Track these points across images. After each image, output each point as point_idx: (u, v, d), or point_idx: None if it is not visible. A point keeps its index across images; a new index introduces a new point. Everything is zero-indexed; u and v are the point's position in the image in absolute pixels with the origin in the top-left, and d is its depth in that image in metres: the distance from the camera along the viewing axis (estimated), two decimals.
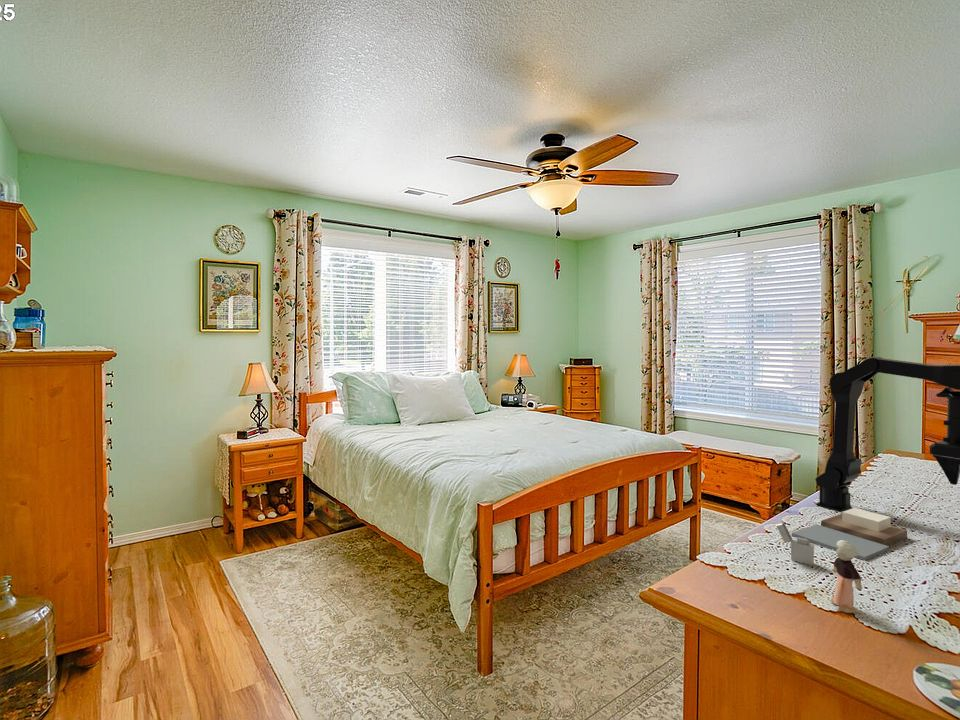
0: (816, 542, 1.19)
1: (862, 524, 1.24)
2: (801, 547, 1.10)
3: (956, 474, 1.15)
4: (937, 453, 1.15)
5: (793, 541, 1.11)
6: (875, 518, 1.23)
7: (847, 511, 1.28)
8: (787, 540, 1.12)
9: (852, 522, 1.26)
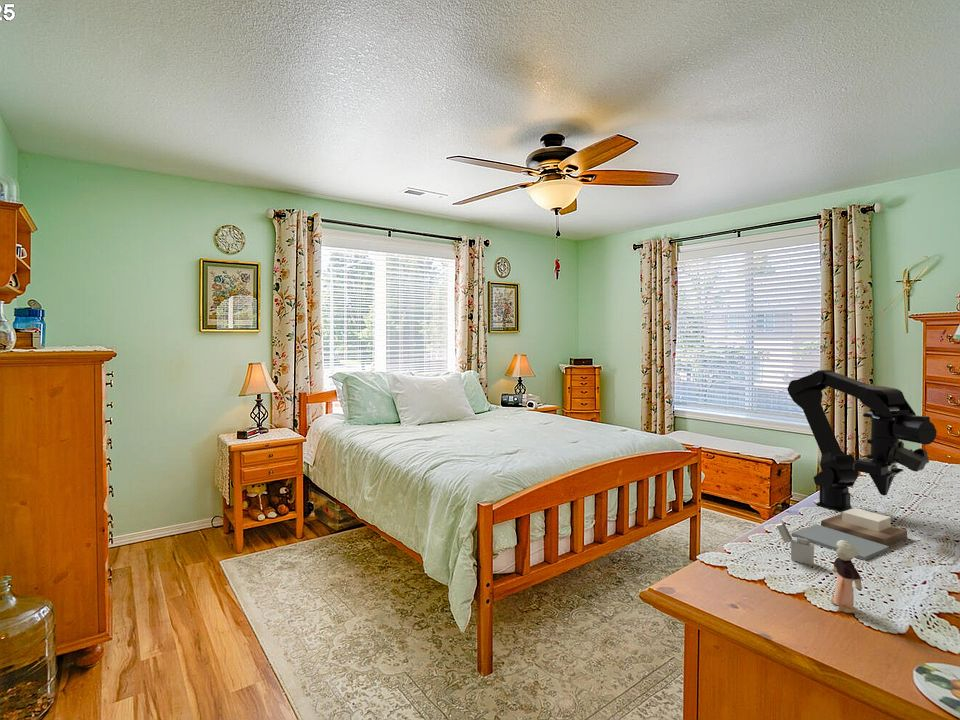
0: (816, 542, 1.19)
1: (862, 524, 1.24)
2: (801, 547, 1.10)
3: (885, 486, 1.28)
4: (859, 470, 1.26)
5: (793, 541, 1.11)
6: (875, 518, 1.23)
7: (847, 511, 1.28)
8: (787, 540, 1.12)
9: (852, 522, 1.26)
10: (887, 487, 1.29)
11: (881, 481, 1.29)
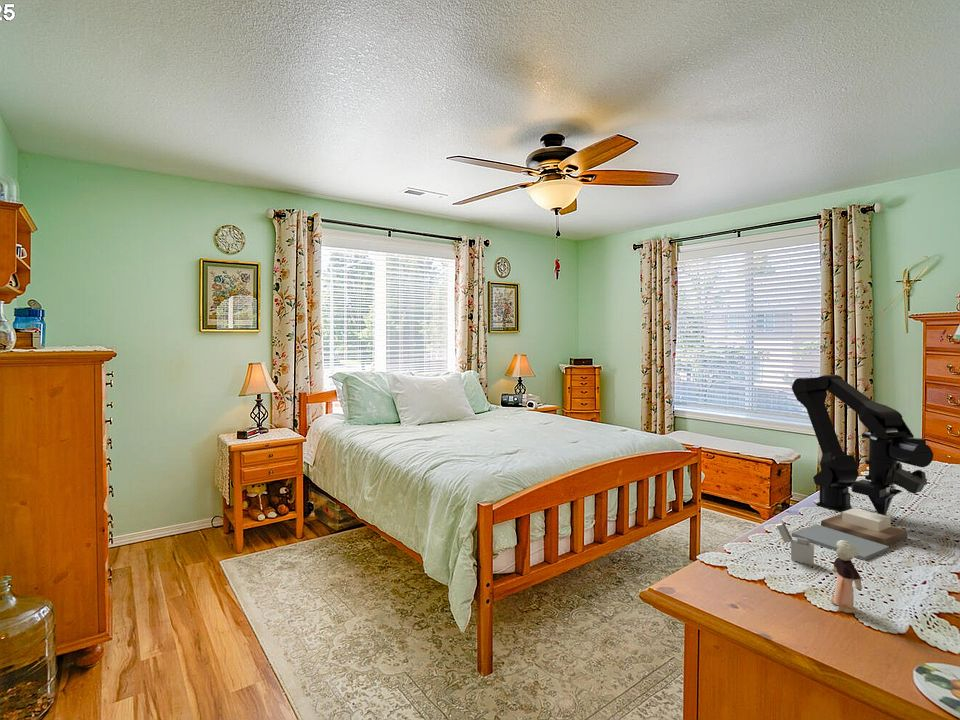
0: (816, 542, 1.19)
1: (862, 524, 1.24)
2: (801, 547, 1.10)
3: (883, 507, 1.28)
4: (857, 491, 1.26)
5: (793, 541, 1.11)
6: (875, 518, 1.23)
7: (847, 511, 1.28)
8: (787, 540, 1.12)
9: (852, 522, 1.26)
10: (885, 508, 1.28)
11: (879, 502, 1.29)
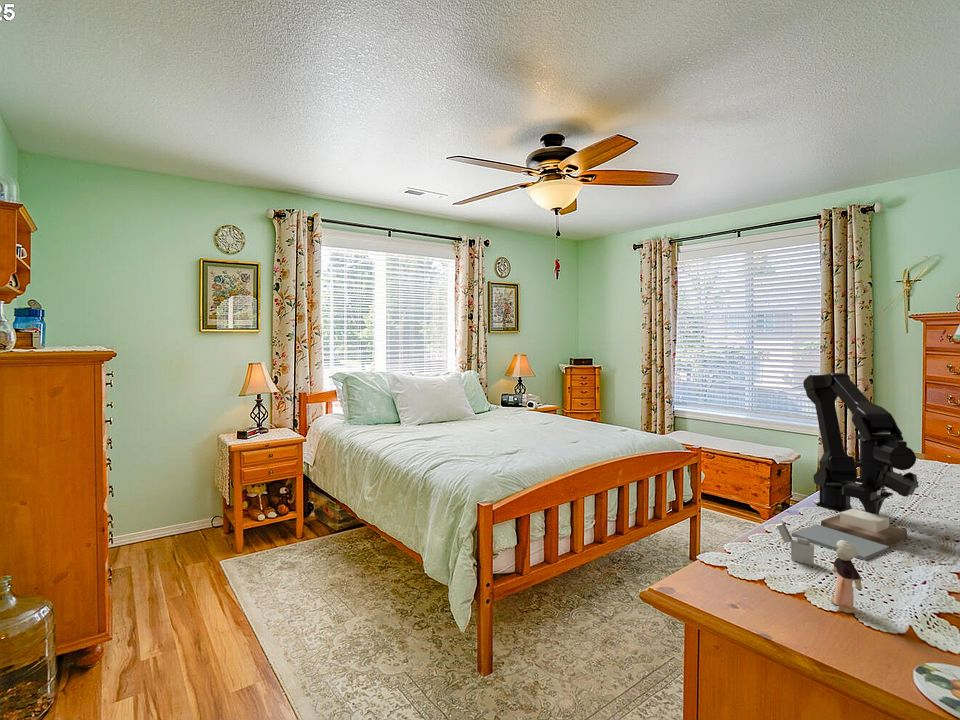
0: (816, 542, 1.19)
1: (860, 525, 1.24)
2: (801, 547, 1.10)
3: (874, 510, 1.26)
4: (848, 494, 1.24)
5: (793, 541, 1.11)
6: (873, 519, 1.23)
7: (845, 511, 1.28)
8: (787, 540, 1.12)
9: (850, 523, 1.25)
10: (877, 511, 1.26)
11: (870, 505, 1.26)
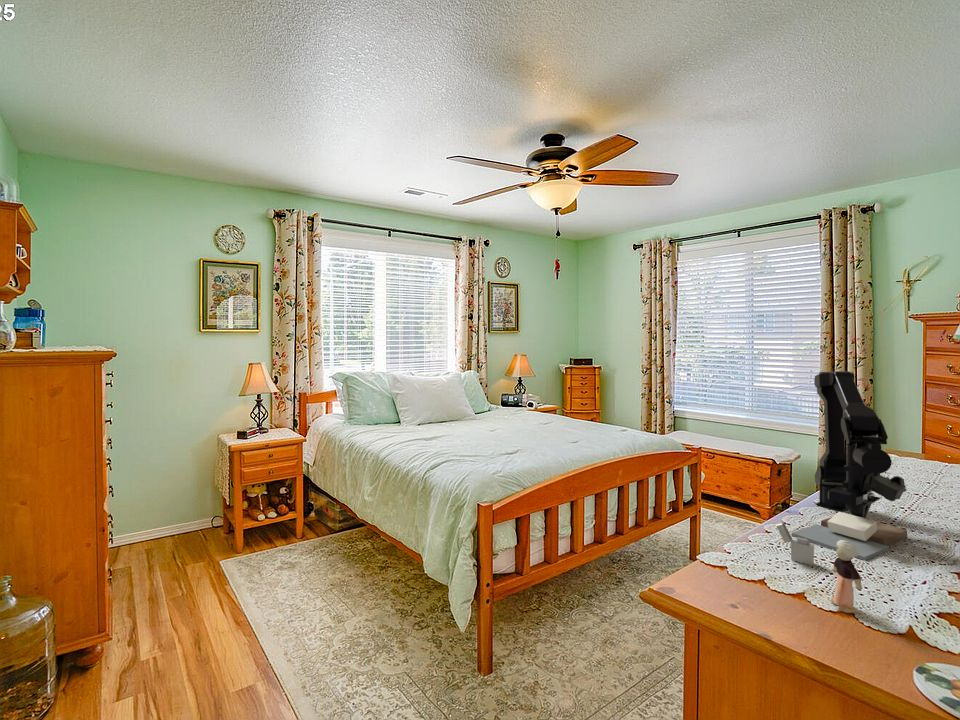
0: (816, 542, 1.19)
1: (848, 534, 1.20)
2: (801, 547, 1.10)
3: (861, 515, 1.23)
4: (833, 498, 1.21)
5: (793, 541, 1.11)
6: (860, 526, 1.19)
7: (832, 519, 1.24)
8: (787, 540, 1.12)
9: (838, 531, 1.22)
10: (863, 516, 1.23)
11: (857, 510, 1.23)
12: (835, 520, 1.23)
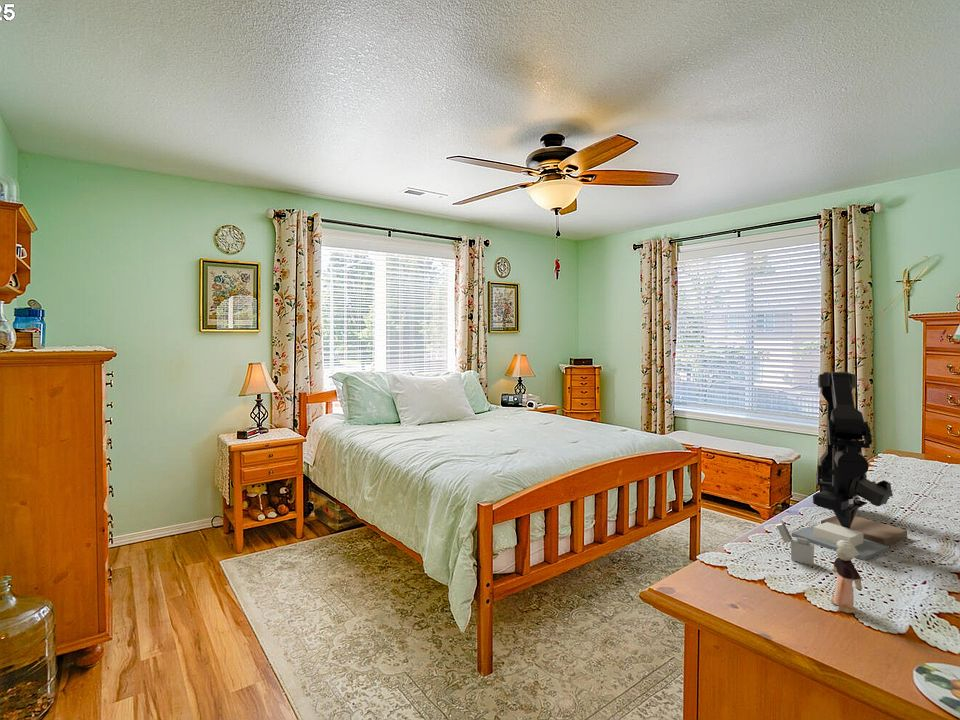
0: (816, 542, 1.19)
1: (833, 540, 1.18)
2: (801, 547, 1.10)
3: (847, 520, 1.20)
4: (818, 503, 1.18)
5: (793, 541, 1.11)
6: (846, 533, 1.17)
7: (818, 525, 1.22)
8: (787, 540, 1.12)
9: (823, 538, 1.20)
10: (850, 521, 1.20)
11: (843, 515, 1.20)
12: (821, 527, 1.21)
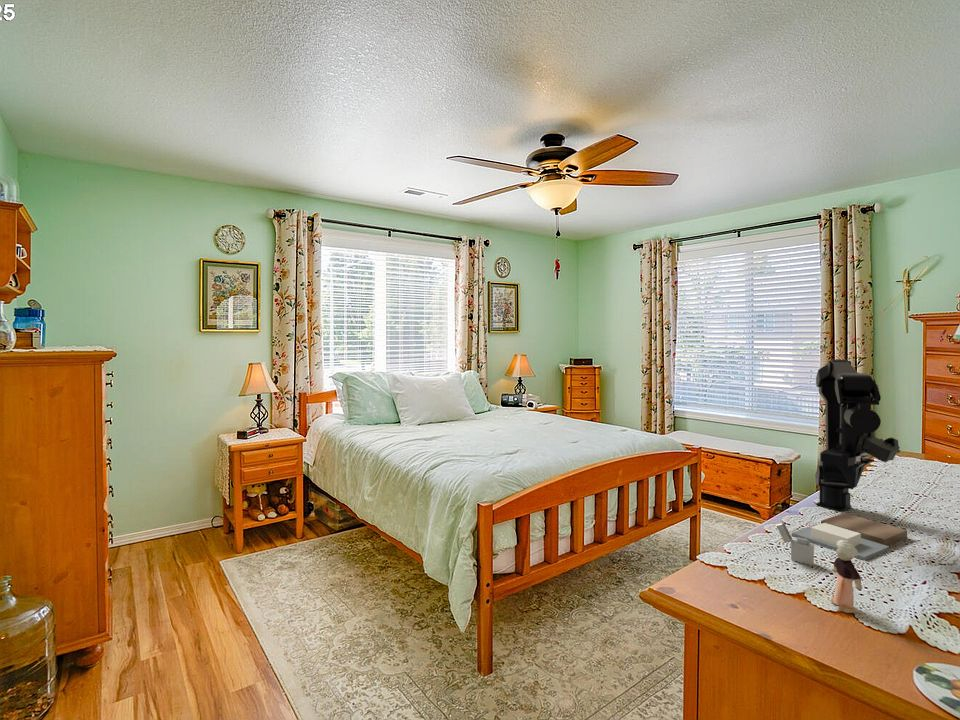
0: (816, 542, 1.19)
1: (830, 541, 1.17)
2: (801, 547, 1.10)
3: (854, 477, 1.21)
4: (825, 460, 1.19)
5: (793, 541, 1.11)
6: (844, 534, 1.17)
7: (816, 526, 1.22)
8: (787, 540, 1.12)
9: (821, 538, 1.19)
10: (857, 479, 1.22)
11: (850, 472, 1.22)
12: (819, 527, 1.21)
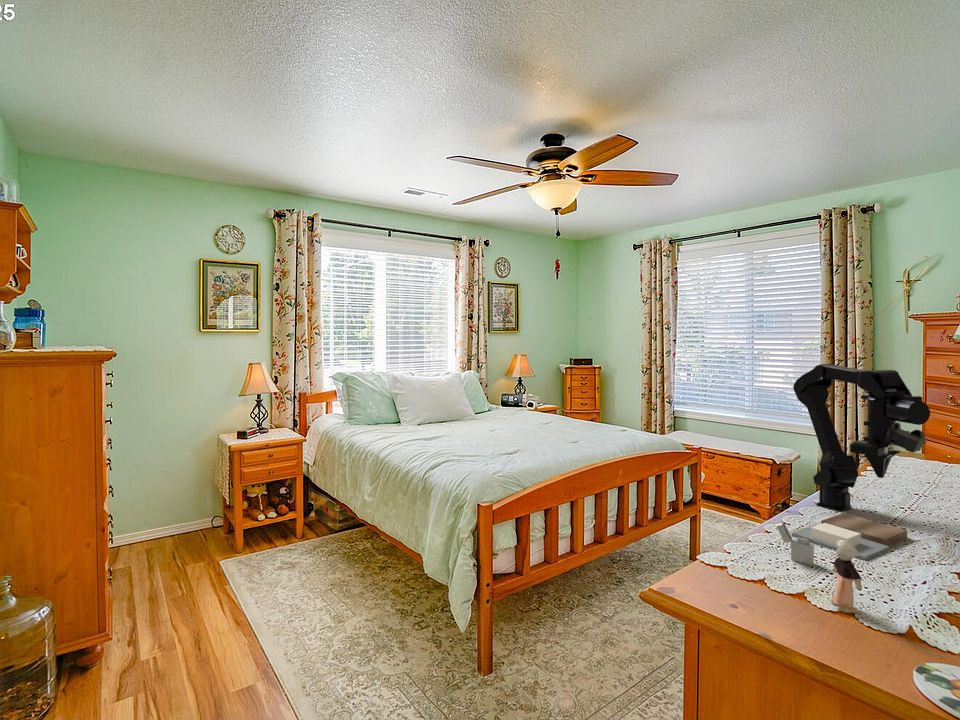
0: (816, 542, 1.19)
1: (830, 541, 1.17)
2: (801, 547, 1.10)
3: (882, 468, 1.27)
4: (855, 451, 1.25)
5: (793, 541, 1.11)
6: (844, 534, 1.17)
7: (816, 526, 1.22)
8: (787, 540, 1.12)
9: (821, 538, 1.19)
10: (884, 469, 1.27)
11: (878, 463, 1.28)
12: (819, 527, 1.21)
